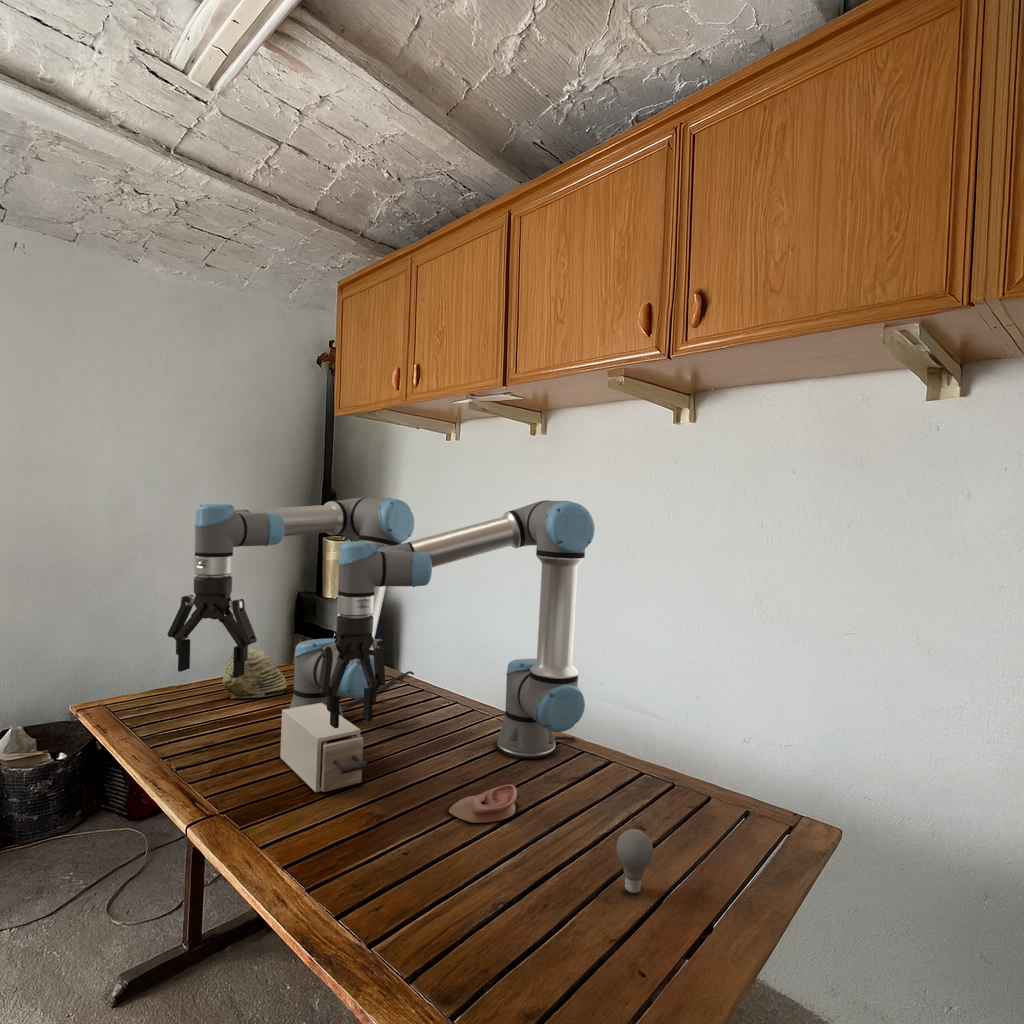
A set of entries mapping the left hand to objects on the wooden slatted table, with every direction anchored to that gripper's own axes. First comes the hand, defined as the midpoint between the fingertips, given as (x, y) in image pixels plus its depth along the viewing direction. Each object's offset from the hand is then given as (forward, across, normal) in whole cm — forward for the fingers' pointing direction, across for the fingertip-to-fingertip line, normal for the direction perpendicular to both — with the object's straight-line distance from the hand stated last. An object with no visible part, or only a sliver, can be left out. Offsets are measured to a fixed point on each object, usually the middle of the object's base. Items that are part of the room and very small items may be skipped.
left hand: (210, 673), depth 137 cm
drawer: (+23, +23, +10) cm, 34 cm away
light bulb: (+24, +91, -13) cm, 95 cm away
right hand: (+8, +31, +4) cm, 33 cm away
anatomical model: (+24, +60, +6) cm, 65 cm away
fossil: (+25, -27, +56) cm, 67 cm away
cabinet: (+24, +19, +14) cm, 33 cm away
